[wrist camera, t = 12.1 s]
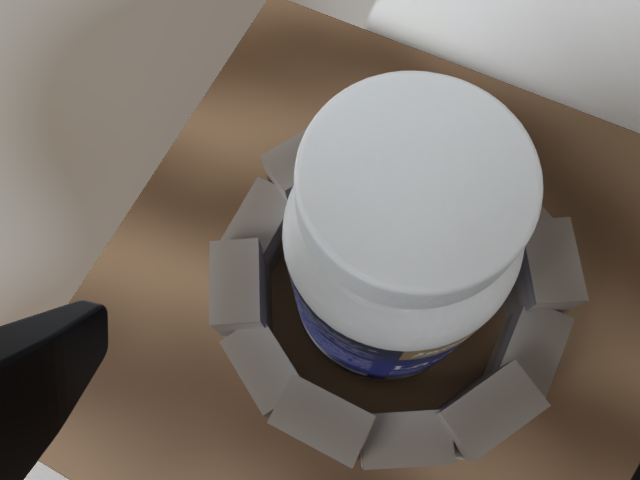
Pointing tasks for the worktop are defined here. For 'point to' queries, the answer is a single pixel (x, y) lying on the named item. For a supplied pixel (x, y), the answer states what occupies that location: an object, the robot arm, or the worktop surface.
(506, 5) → the worktop surface
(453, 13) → the worktop surface
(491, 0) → the worktop surface
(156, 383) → the nut base
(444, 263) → the pill bottle
